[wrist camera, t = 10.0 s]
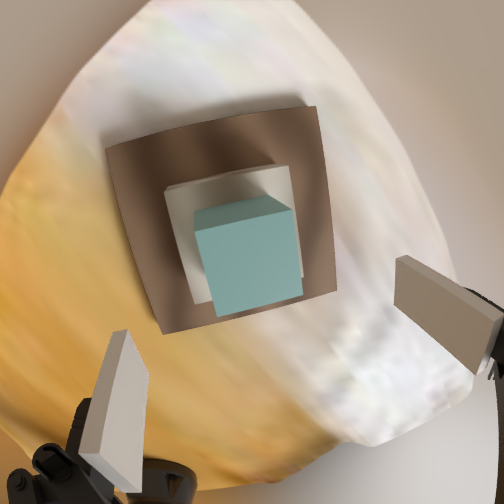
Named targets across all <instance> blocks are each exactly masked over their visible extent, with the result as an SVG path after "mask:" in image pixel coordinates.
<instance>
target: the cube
mask: <svg viewBox="0 0 504 504" xmlns="http://www.w3.org/2000/svg"><path fill="white" fill-rule="evenodd" d="M194 232H195V236H196V240H197V244H198V248H199V252H200V256H201V259H202V263H203V267H204V271H205V275H206V278H207V282H208V286H209V289H210V293H211V297H212V300H213V304H214V307H215V311H216V314H217V317H220V316H224V315H228V314H232V313H236V312H240V311H244V310H248V309H252V308H256V307H260V306H264V305H268V304H272V303H275V302H279V301H283V300H286V299H290V298H294V297H297V296H301V295H303V288H302V279H301V271H300V263H299V255H298V247H297V239H296V232H295V225H294V218H293V211H292V209H291V208H289V207H287V206H286V205H284V204H283V203H281V202H279V201H278V200H276V199H275V198H273V197H271V196H270V195H265V196H260V197H256V198H251V199H246V200H242V201H237V202H233V203H228V204H224V205H219V206H215V207H210V208H206V209H202V210H198V211H194Z"/></svg>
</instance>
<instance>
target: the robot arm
mask: <svg viewBox="0 0 504 504" xmlns="http://www.w3.org/2000/svg"><path fill="white" fill-rule="evenodd" d="M394 305H395V306H396V307H397V308H398V309H400V310H401V311H402V312H403V313H404V314H406V315H407V316H408V317H409V318H410V319H411V320H413V321H414V322H415V323H416V324H417V325H419V326H420V327H421V328H422V329H423V330H424V331H426V332H427V333H428V334H429V335H430V336H431V337H433V338H434V339H435V340H436V341H437V342H438V343H440V344H441V345H442V346H443V347H444V348H445V349H446V350H447V351H449V352H450V353H451V354H452V355H453V356H454V357H455V358H457V359H458V360H459V361H460V362H461V363H462V364H463V365H464V366H465V367H466V368H468V369H469V370H470V371H471V372H472V373H473V374H474V375H475V376H476V375H478V374H479V373H480V372H481V371H483V370H484V369H485V368H486V367H487V365H488V362H489V359H490V357H492V358H493V359H494V360H495V361H494V363H493V366H492V368H491V371H490V373H489V375H488V380H490V378H491V376H492V374H493V373H494V377H493V380H495V386H496V395H497V407H498V425H499V461H498V478H497V489H496V498H495V504H504V309H502V308H501V307H499V306H498V305H496V304H495V303H493V302H492V301H490V300H488V299H487V298H485V297H484V296H481V295H480V294H479V293H477V292H475V291H474V290H471V289H468V288H465V287H462V286H460V285H458V284H457V283H455V282H453V281H452V280H450V279H448V278H447V277H445V276H443V275H442V274H440V273H438V272H436V271H435V270H433V269H431V268H430V267H428V266H426V265H424V264H423V263H421V262H419V261H417V260H415V259H414V258H412V257H410V256H408V255H405V256H402V257H399V258H396V272H395V294H394ZM149 375H150V374H149V372H148V370H147V368H146V366H145V364H144V362H143V360H142V358H141V356H140V354H139V352H138V350H137V348H136V346H135V344H134V342H133V339H132V337H131V335H130V333H129V331H128V329H126V330H121V331H116V332H113V334H112V336H111V339H110V342H109V345H108V348H107V351H106V354H105V357H104V360H103V363H102V366H101V369H100V373H99V376H98V379H97V382H96V386H95V389H94V393H93V396H92V398H84V399H83V400H82V402H81V403H80V404H79V406H78V407H77V409H76V413H75V416H74V420H73V423H72V428H71V430H70V434H69V437H68V441H67V445H66V449H65V451H64V450H63V449H62V448H61V447H60V446H59V445H57V444H55V443H46V444H44V445H42V446H40V447H39V448H38V449H37V450H36V452H35V453H34V455H33V459H32V464H33V468H34V469H35V470H36V471H38V472H39V473H40V474H39V475H34V476H33V475H32V474H30V473H29V472H28V471H27V470H25V469H22V468H20V469H16V470H14V471H13V472H12V473H11V474H10V475H9V477H8V480H7V491H8V499H9V504H123V503H122V502H121V501H120V500H119V498H118V497H116V496H115V495H114V486H115V487H116V488H117V489H119V490H120V491H121V492H123V493H125V494H126V497H127V499H128V504H192V503H193V499H194V496H195V493H196V489H197V477H196V474H195V473H194V472H193V471H192V470H190V469H189V468H187V467H185V466H182V465H179V464H176V463H172V462H168V461H162V460H149V459H145V460H143V443H144V428H145V415H146V403H147V393H148V384H149Z"/></svg>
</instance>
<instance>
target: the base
mask: <svg viewBox="0 0 504 504" xmlns="http://www.w3.org/2000/svg"><path fill="white" fill-rule="evenodd" d="M105 150H106V155H107V160H108V164H109V169H110V173H111V177H112V181H113V185H114V189H115V193H116V197H117V201H118V205H119V209H120V212H121V216H122V219H123V223H124V226H125V230H126V233H127V236H128V240H129V243H130V246H131V249H132V252H133V255H134V259H135V262H136V265H137V268H138V271H139V273H140V276H141V279H142V282H143V285H144V288H145V290H146V293H147V296H148V299H149V301H150V304H151V307H152V309H153V312H154V314H155V317H156V319H157V322H158V324H159V327H160V329H161V332H162V334H163V335H165V334H170V333H174V332H179V331H184V330H188V329H193V328H197V327H202V326H206V325H210V324H215V323H219V322H223V321H227V320H231V319H235V318H239V317H243V316H247V315H251V314H255V313H259V312H263V311H267V310H270V309H274V308H278V307H282V306H285V305H289V304H292V303H296V302H300V301H303V300H307V299H310V298H313V297H317V296H320V295H324V294H327V293H330V292H334V291H337V281H336V265H335V251H334V238H333V227H332V217H331V207H330V198H329V189H328V181H327V173H326V166H325V159H324V152H323V145H322V139H321V132H320V126H319V120H318V115H317V109H316V106H310V107H299V108H289V109H280V110H272V111H265V112H258V113H251V114H245V115H238V116H233V117H227V118H222V119H216V120H211V121H206V122H201V123H197V124H192V125H188V126H183V127H179V128H175V129H171V130H167V131H163V132H159V133H156V134H152V135H148V136H145V137H141V138H138V139H134V140H131V141H128V142H124V143H121V144H118V145H115V146H112V147H109V148H106V149H105ZM265 195H270V196H271V197H273V198H275V199H276V200H278V201H279V202H281V203H283V204H284V205H286V206H287V207H289V208H291V209H292V211H293V218H294V225H295V232H296V239H297V247H298V255H299V263H300V271H301V279H302V288H303V295H301V296H297V297H294V298H290V299H286V300H283V301H279V302H275V303H272V304H268V305H264V306H260V307H256V308H252V309H248V310H244V311H240V312H236V313H232V314H228V315H224V316H220V317H217V314H216V311H215V307H214V304H213V300H212V297H211V293H210V289H209V286H208V282H207V278H206V275H205V271H204V267H203V263H202V259H201V256H200V252H199V248H198V244H197V240H196V236H195V232H194V211H198V210H202V209H206V208H210V207H215V206H219V205H224V204H228V203H233V202H237V201H242V200H246V199H251V198H256V197H260V196H265Z"/></svg>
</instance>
